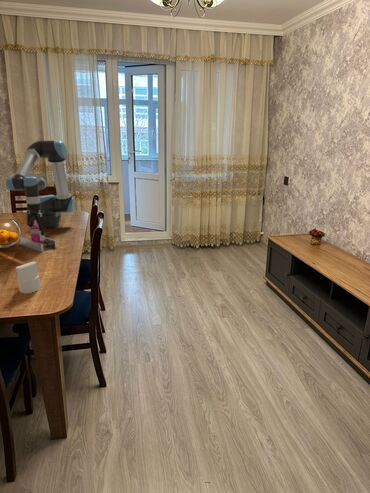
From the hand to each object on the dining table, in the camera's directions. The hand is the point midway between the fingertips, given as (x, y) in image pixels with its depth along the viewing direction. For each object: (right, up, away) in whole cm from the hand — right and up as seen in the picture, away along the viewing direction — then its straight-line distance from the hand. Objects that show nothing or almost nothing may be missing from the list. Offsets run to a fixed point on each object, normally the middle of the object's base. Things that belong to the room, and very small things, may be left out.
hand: (37, 238), depth 212 cm
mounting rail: (0, -6, +2) cm, 6 cm away
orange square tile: (0, -4, +1) cm, 5 cm away
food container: (-16, +18, +74) cm, 77 cm away
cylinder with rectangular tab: (+19, -25, -54) cm, 62 cm away
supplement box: (0, -4, +1) cm, 4 cm away
